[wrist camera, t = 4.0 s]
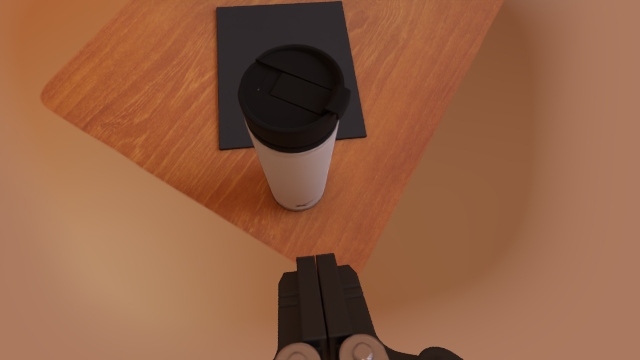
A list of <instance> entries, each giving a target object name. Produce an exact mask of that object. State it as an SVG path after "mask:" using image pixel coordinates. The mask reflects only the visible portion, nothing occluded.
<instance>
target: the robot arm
mask: <svg viewBox="0 0 640 360" xmlns="http://www.w3.org/2000/svg"><path fill="white" fill-rule="evenodd" d="M296 262H297V271H294V272H286V273H284V274H283V276H282V278H281V280H280V282H279V284H278V285H279V286H278V297H279V298H278V350H277V353H276V355H275V358H274V359H273V360H463V359H462V358H460V357H459V356H457V355H456V354H454V353H453V352H451V351H449V350H447V349H445V348H441V347H429V348H426V349H424V350H423V351H422V352H421V353H420V354H419V356H417V355H411V354H405V353H401V352H397V351H394V350H392V349H390V348H388V347H387V346H385V345H384V344H383V343H382V342H381V341H380V340H379V338H378V337H377V335H376V333H375V330H374V327H373V324H372V321H371V317H370V314H369V311H368V308H367V305H366V302H365V298H364V296H363V292H362V289H361V286H360V282H359V279H358V276H357V273H356V272H355V271H354V270H353V269H352V268H351V267H350V266H349V265H342V266H337V263H336V259H335V255H334V253H329V254H321V255H316V263H315V256H314V255H313V256H305V257H296ZM316 267H317V270H316Z"/></svg>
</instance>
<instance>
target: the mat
mask: <svg viewBox="0 0 640 360" xmlns="http://www.w3.org/2000/svg"><path fill="white" fill-rule="evenodd" d="M289 44H303V45H308V46H313V47H315V48H318V49H320V50H322V51H324V52H326V53H327V54H329V55H330V56H331V57H332V58H333V59H334V60H335V61H336V62H337V63H338V65H339V67H340V68H341V70H342V73H343V76H344V81H345V88H348V89H350V90H351V96H350V103H349V105H348V107H347V109H346V111H345V113H344V115H343V117H342V118H341V119H339V124H338V129H337V133H336V138H335V140H341V139H352V138H363V137H366V136H367V135H366V130H365V125H364V119H363V114H362V108H361V103H360V98H359V92H358V87H357V81H356V76H355V71H354V65H353V60H352V54H351V49H350V44H349V38H348V33H347V27H346V22H345V17H344V11H343V6H342V1H334V2H314V3H294V4H274V5H254V6H234V7H217V55H218V106H219V149H220V150H228V149H239V148H251V147H254V144H253V142H252V139H251V136H250V134H249V131H248V128H247V126H246V122H245V117H244V115H243V112H242V110H241V107H240V104H239V100H238V95H237V94H238V89H239V85H240V82H241V78H242V76H243V75H244V73H245V71H246V70H247V69H248V67H249V66H250V65H251V64H253V63H254V62H256V60H255V59H256V58H257V57H259V56H260V55H261V54H262V53H264V52H265V51H267V50H269V49H272V48H274V47H278V46H282V45H289Z"/></svg>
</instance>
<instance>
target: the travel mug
mask: <svg viewBox="0 0 640 360" xmlns="http://www.w3.org/2000/svg"><path fill="white" fill-rule="evenodd" d="M255 60H256V62H254V63H253V64H251V65H250V66H249V67H248V69H247V70H246V71H245V73H244V75H243V76H242V78H241V82H240V85H239V89H238V94H237V95H238V100H239V104H240V107H241V110H242V112H243V115H244V117H245V122H246V126H247V128H248V131H249V134H250V136H251V139H252V142H253V144H254V147H255V149H256V152H257V155H258V157H259V160H260V163H261V165H262V168H263V171H264V173H265V176H266V179H267V181H268V184H269V186H270V189H271V192H272V194H273V196H274V199H275V200H276V201H277V203H279V204H280V205H281V206H282V207H284V208H286V209H288V210H291V211H304V210H307V209H309V208H312V207H313V206H314V205H316V204H317V203H318V202H319V201H320V199H321V197H322V195H323V193H324V189H325V184H326V179H327V175H328V170H329V166H330V161H331V156H332V152H333V147H334V142H335V138H336V133H337V129H338V124H339V119H341V118H342V117H343V115H344V113H345V111H346V109H347V107H348V105H349V103H350V96H351V90H350V89H348V88H345V81H344V76H343V73H342V70H341V68H340V67H339V65H338V63H337V62H336V61H335V60H334V59H333V58H332V57H331V56H330V55H329V54H327V53H326V52H324V51H322V50H320V49H318V48H315V47H313V46H308V45H303V44H289V45H282V46H278V47H274V48H272V49H269V50H267V51H265V52H264V53H262V54H261V55H260V56H259V57H257V58H256V59H255Z"/></svg>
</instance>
